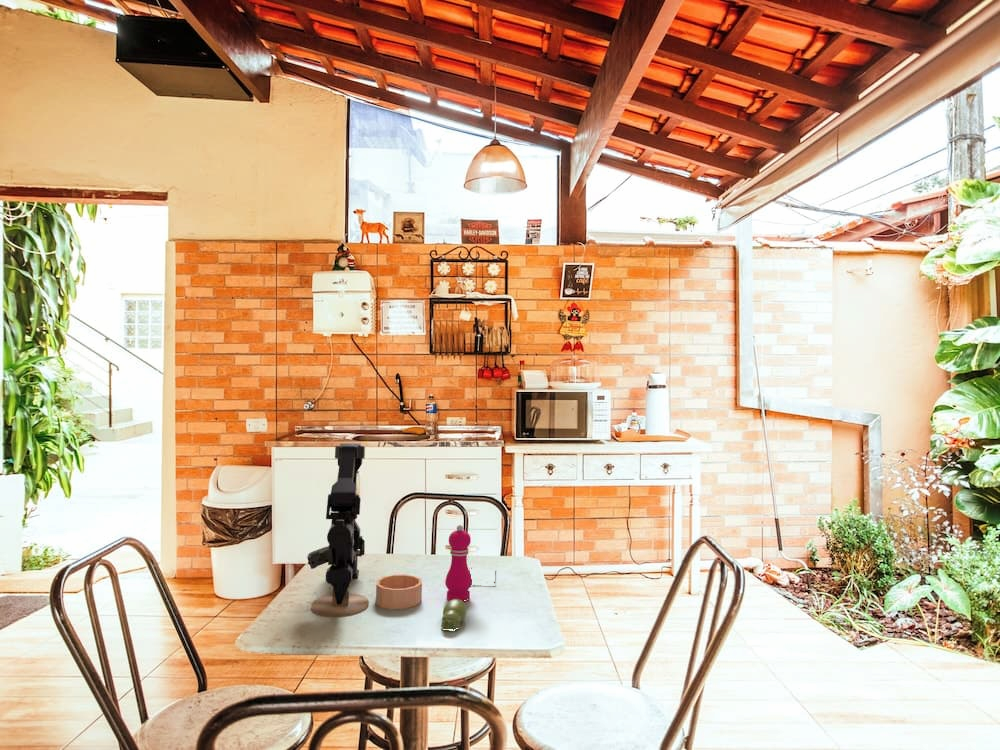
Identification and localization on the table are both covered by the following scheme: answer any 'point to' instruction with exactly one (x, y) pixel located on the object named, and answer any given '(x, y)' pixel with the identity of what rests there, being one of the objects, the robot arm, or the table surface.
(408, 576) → the terracotta bowl
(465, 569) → the pepper mill
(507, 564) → the table surface
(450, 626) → the pear
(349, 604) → the walnut lid
